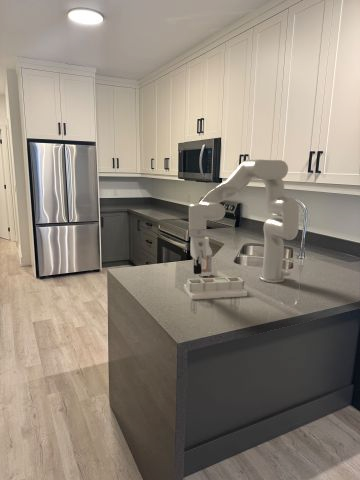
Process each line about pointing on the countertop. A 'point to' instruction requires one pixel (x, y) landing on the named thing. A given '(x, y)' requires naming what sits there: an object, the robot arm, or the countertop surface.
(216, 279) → the key
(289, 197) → the robot arm
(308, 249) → the countertop surface
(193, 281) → the white compartment tray
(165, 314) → the countertop surface
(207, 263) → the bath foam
